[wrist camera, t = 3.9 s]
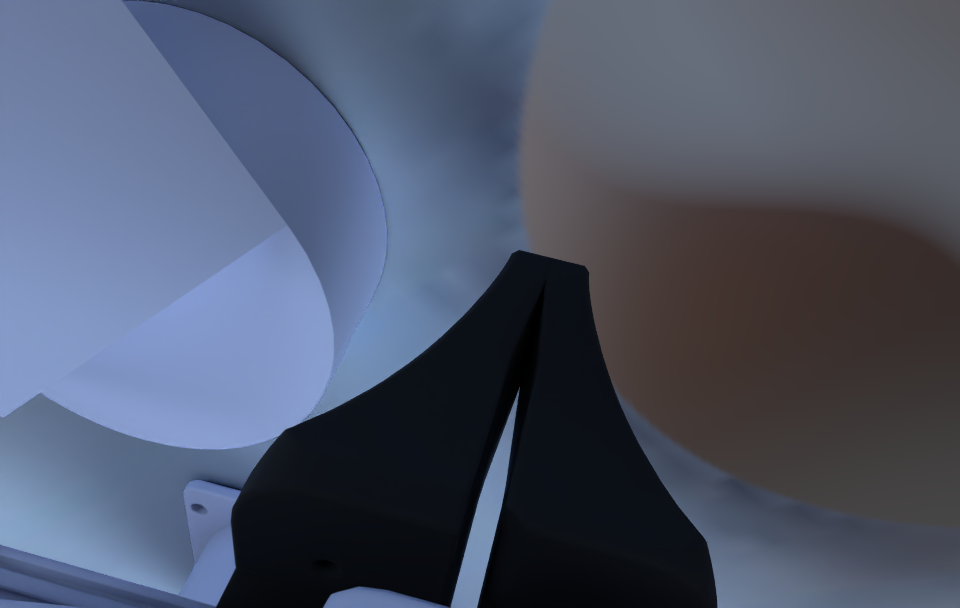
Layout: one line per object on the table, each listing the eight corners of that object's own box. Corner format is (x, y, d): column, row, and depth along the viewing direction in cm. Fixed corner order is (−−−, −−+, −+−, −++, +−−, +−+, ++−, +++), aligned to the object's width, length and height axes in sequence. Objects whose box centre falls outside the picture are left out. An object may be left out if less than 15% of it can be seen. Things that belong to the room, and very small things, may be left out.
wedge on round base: (-231, -70, 17) (183, 381, 23) (-640, 69, 12) (33, 598, 18) (49, -337, 13) (460, 299, 19) (-393, -300, 8) (365, 549, 14)
